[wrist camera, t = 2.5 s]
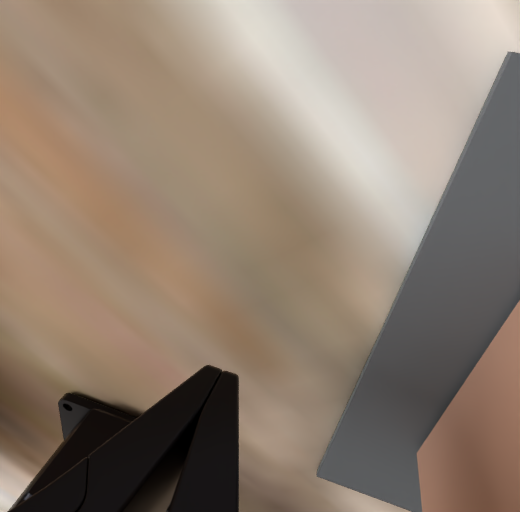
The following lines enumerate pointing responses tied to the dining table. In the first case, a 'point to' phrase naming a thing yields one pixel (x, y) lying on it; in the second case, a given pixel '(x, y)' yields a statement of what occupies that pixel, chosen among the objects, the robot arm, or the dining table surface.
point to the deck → (478, 436)
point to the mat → (439, 311)
